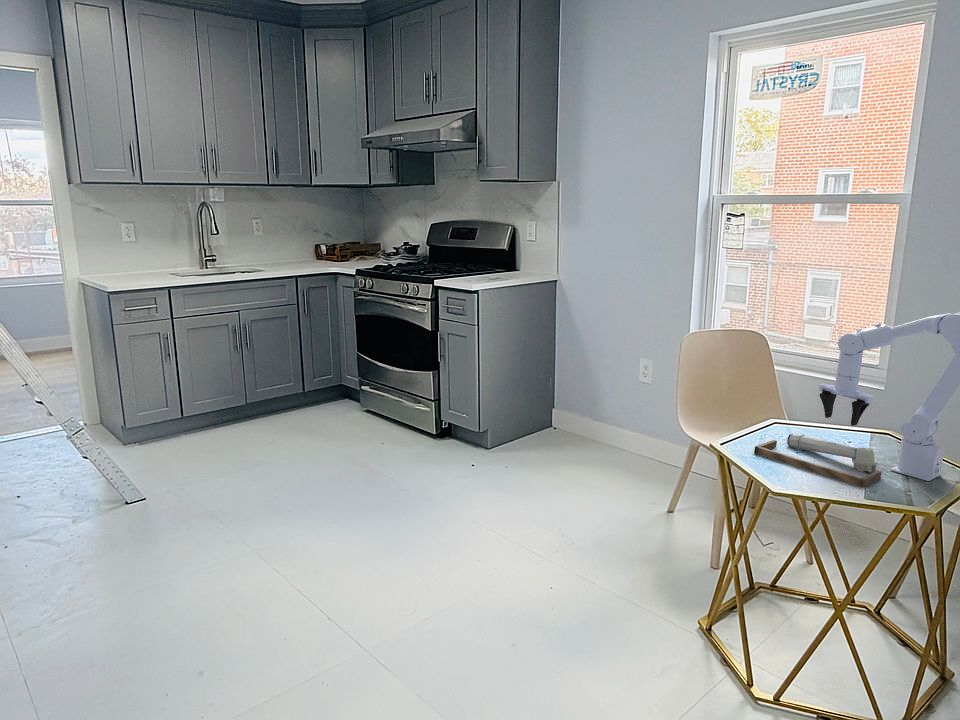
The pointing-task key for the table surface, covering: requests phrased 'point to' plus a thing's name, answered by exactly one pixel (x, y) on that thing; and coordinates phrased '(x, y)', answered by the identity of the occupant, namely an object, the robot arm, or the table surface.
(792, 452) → the table surface
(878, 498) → the table surface
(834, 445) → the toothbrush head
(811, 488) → the table surface
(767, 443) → the walnut bay
